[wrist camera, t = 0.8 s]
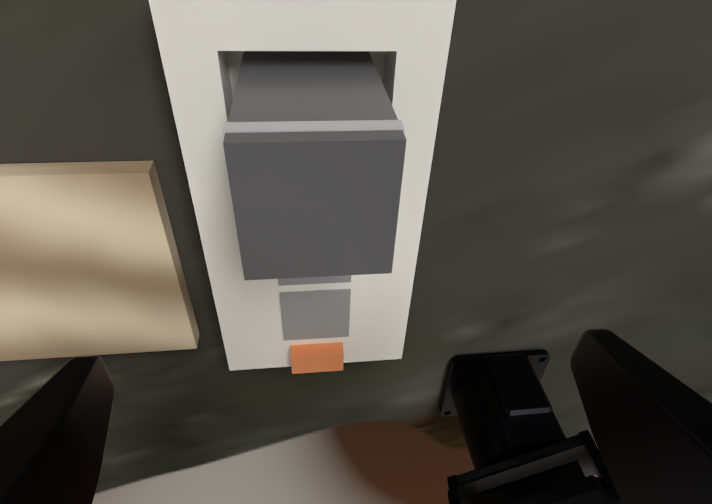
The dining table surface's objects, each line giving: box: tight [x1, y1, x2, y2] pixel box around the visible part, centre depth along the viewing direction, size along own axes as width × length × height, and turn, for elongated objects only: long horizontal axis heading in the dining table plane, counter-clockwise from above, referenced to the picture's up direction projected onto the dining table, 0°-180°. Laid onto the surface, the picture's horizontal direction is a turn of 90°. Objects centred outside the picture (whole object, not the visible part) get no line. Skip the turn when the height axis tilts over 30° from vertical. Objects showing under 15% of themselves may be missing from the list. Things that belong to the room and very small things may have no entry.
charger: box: [223, 51, 406, 280], centre depth 15 cm, size 4×4×7 cm
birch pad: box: [0, 161, 200, 361], centre depth 22 cm, size 11×11×1 cm
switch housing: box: [149, 0, 456, 374], centre depth 20 cm, size 18×9×4 cm, turn 178°
